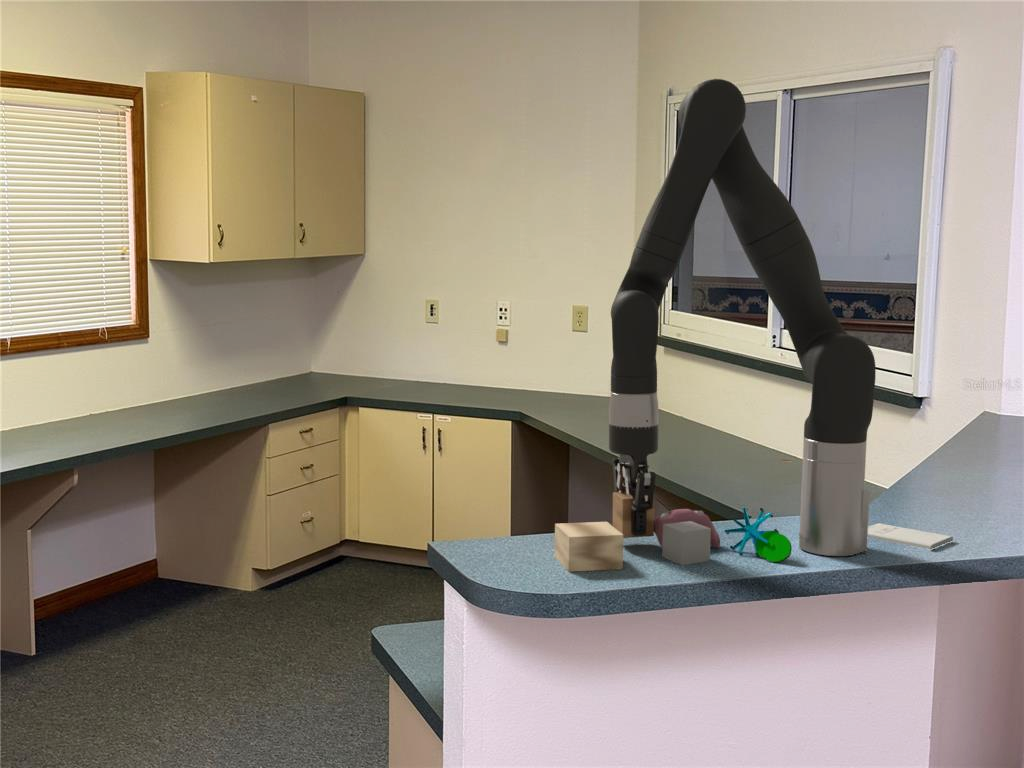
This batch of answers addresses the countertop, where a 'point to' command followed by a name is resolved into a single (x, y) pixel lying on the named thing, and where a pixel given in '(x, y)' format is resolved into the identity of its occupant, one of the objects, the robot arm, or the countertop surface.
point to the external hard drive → (907, 536)
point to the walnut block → (629, 516)
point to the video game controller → (685, 516)
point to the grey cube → (686, 542)
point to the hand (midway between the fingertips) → (632, 529)
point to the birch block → (588, 546)
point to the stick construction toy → (762, 539)
